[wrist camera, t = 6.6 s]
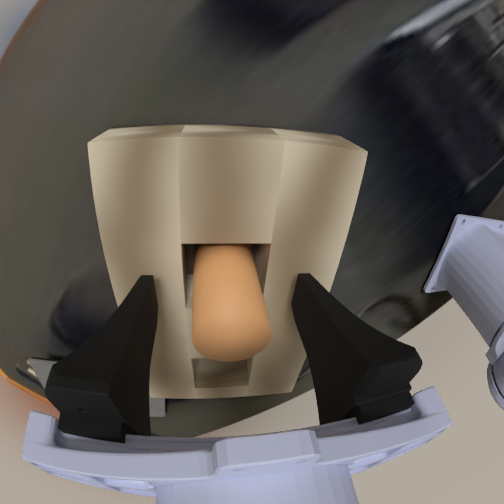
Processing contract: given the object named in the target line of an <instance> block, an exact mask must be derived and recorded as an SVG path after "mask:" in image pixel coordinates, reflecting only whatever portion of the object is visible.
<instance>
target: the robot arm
mask: <svg viewBox="0 0 504 504" xmlns="http://www.w3.org/2000/svg"><path fill="white" fill-rule="evenodd" d="M423 290H424V291H425V293H430V292H438V291H445V290H447V291H448V292H449V293H450V294H451V296H452V297H453V298H454V299H455V301H456V302H457V303H458V304H459V306H460V307H461V308H462V310H463V311H464V312H465V314H466V315H467V316H468V317H469V319H470V320H471V322H472V323H473V324H474V326H475V327H476V329H477V330H478V331H479V333H480V334H481V336H482V337H483V339H484V340H485V341H486V343H487V344H488V346H489V347H490V349H489V351H488V352H487V353H486V357H487V358H488V360H489V361H490V363H489V365H488V368H487V379H488V385H489V389H490V392H491V394H492V396H493V398H494V400H495V401H496V403H497V404H498V405H499V406H500V407H501V408H502V409H503V410H504V221H501V220H494V219H488V218H482V217H475V216H468V215H461V214H458V215H457V216H456V217H455V218H454V221H453V223H452V226H451V228H450V231H449V233H448V236H447V238H446V240H445V243H444V245H443V247H442V250H441V252H440V254H439V256H438V259H437V261H436V263H435V265H434V267H433V269H432V271H431V274H430V276H429V278H428V280H427V282H426V284H425V286H424V288H423ZM291 306H292V311H293V316H294V320H295V323H296V326H297V329H298V332H299V335H300V338H301V340H302V343H303V346H304V349H305V352H306V354H307V357H308V361H309V364H310V369H311V373H312V378H313V383H314V388H315V393H316V399H317V406H318V413H319V421H320V425H318V426H313V427H307V428H302V429H294V430H288V431H281V432H273V433H265V434H256V435H244V436H232V437H210V438H174V437H152V436H151V429H150V406H149V385H150V365H151V358H152V352H153V346H154V340H155V334H156V329H157V320H158V301H157V295H156V289H155V283H154V276H153V275H141V276H140V277H139V278H138V280H137V281H136V283H135V284H134V286H133V287H132V289H131V290H130V292H129V293H128V294H127V296H126V297H125V299H124V300H123V301H122V303H121V304H120V305H119V307H118V308H117V309H116V310H115V312H114V313H113V314H112V315H111V317H110V318H109V319H108V320H107V321H106V322H105V324H104V325H103V326H102V327H101V328H100V329H99V330H98V331H97V332H96V333H95V334H94V335H93V336H92V337H90V338H89V339H88V340H87V341H86V342H85V343H84V344H82V345H81V346H80V347H79V348H77V349H76V350H75V351H73V352H72V353H71V354H69V355H68V356H66V357H65V358H63V359H61V360H60V361H58V362H57V363H55V364H53V365H52V367H51V370H50V372H49V375H48V379H47V383H46V386H45V390H44V392H45V395H46V397H47V398H48V400H49V401H50V402H51V403H52V404H53V405H54V406H55V407H56V408H57V409H58V410H59V412H60V417H59V420H58V419H57V418H55V417H54V416H51V415H48V414H44V413H40V412H37V411H30V415H29V419H28V424H27V428H26V433H25V438H24V444H23V450H22V456H21V457H22V458H23V459H24V460H26V461H28V462H29V463H31V464H33V465H34V466H36V467H38V468H40V469H42V470H44V471H45V472H47V473H49V474H52V475H55V476H59V477H62V478H65V479H69V480H72V481H76V482H80V483H83V484H87V485H91V486H95V487H100V488H104V489H109V490H114V491H119V492H124V493H130V494H136V495H143V496H151V497H156V504H359V503H358V499H357V496H356V492H355V489H354V486H353V482H352V479H351V475H352V474H355V473H358V472H361V471H364V470H367V469H369V468H372V467H374V466H377V465H379V464H382V463H384V462H386V461H389V460H391V459H394V458H396V457H398V456H400V455H403V454H405V453H407V452H409V451H411V450H414V449H416V448H418V447H420V446H422V445H424V444H426V443H428V442H429V441H430V440H432V439H433V438H435V437H436V436H437V435H439V434H440V433H441V432H443V431H444V430H446V429H447V428H448V427H449V426H451V425H452V421H451V419H450V417H449V414H448V413H447V410H446V409H445V406H444V404H443V402H442V400H441V398H440V396H439V394H438V392H437V390H436V388H435V387H434V386H432V387H430V388H427V389H424V390H422V391H419V392H417V393H416V394H414V395H413V396H411V394H410V392H409V391H410V390H411V385H410V383H409V382H410V381H411V380H412V379H413V378H414V376H415V375H416V374H417V373H418V372H419V370H420V369H421V366H422V360H421V358H420V356H419V354H418V353H417V351H416V349H415V348H414V347H412V346H409V345H407V344H404V343H402V342H399V341H397V340H395V339H393V338H391V337H389V336H387V335H385V334H383V333H381V332H380V331H378V330H376V329H375V328H373V327H371V326H370V325H368V324H367V323H365V322H364V321H362V320H361V319H360V318H358V317H357V316H355V315H354V314H353V313H352V312H350V311H349V310H348V309H347V308H346V307H345V306H343V305H342V304H341V303H340V302H339V301H338V300H337V299H336V298H335V297H333V296H332V295H331V294H330V293H329V292H328V291H327V290H326V289H325V288H324V287H323V286H322V285H321V284H320V283H319V282H318V281H317V280H316V279H315V278H314V277H313V276H312V275H311V274H310V273H298V276H297V280H296V285H295V289H294V293H293V297H292V301H291Z"/></svg>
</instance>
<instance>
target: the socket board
mask: <svg viewBox="0 0 504 504" xmlns="http://www.w3.org/2000/svg"><path fill="white" fill-rule="evenodd" d="M88 153H89V164H90V173H91V181H92V189H93V196H94V202H95V209H96V214H97V220H98V226H99V231H100V236H101V241H102V246H103V250H104V255H105V259H106V263H107V268H108V272H109V276H110V280H111V284H112V287H113V291H114V295H115V298H116V302H117V305H118V307H119V305H120V304H121V303H122V301H123V300H124V299H125V297H126V296H127V294H128V293H129V292H130V290H131V289H132V287H133V286H134V284H135V283H136V281H137V280H138V278H139V277H140V276H141V275H153V276H154V283H155V289H156V295H157V301H158V320H157V329H156V334H155V340H154V346H153V352H152V358H151V365H150V385H149V395H150V397H151V398H187V399H191V398H229V397H246V396H259V395H269V394H279V393H287V392H292V390H293V387H294V385H295V383H296V380H297V378H298V375H299V373H300V371H301V368H302V366H303V363H304V361H305V358H306V356H307V354H306V352H305V349H304V346H303V343H302V340H301V338H300V335H299V332H298V329H297V326H296V323H295V320H294V316H293V311H292V306H291V301H292V297H293V293H294V289H295V285H296V280H297V276H298V273H310V274H311V275H312V276H313V277H314V278H315V279H316V280H317V281H318V282H319V283H320V284H321V285H322V286H323V287H324V288H325V289H326V290H327V291H328V292H330V289H331V286H332V283H333V280H334V277H335V274H336V271H337V268H338V264H339V261H340V258H341V255H342V251H343V248H344V244H345V241H346V238H347V234H348V231H349V227H350V223H351V220H352V216H353V212H354V208H355V205H356V201H357V197H358V193H359V189H360V185H361V180H362V176H363V172H364V168H365V163H366V159H367V154H368V152H367V151H366V150H364V149H362V148H360V147H359V146H357V145H355V144H353V143H351V142H350V141H348V140H346V139H344V138H342V137H340V136H339V135H335V134H328V133H321V132H314V131H306V130H298V129H289V128H278V127H267V126H253V125H235V124H154V125H136V126H123V127H112V128H111V129H109V130H107V131H106V132H104V133H102V134H101V135H99V136H98V137H96V138H94V139H93V140H91V141H90V142H88ZM209 243H250V246H251V250H252V254H253V258H254V262H255V266H256V270H257V274H258V279H259V283H260V287H261V291H262V295H263V299H264V303H265V307H266V311H267V315H268V319H269V323H270V327H271V332H272V336H271V340H270V342H269V344H268V345H267V347H266V348H265V349H264V350H263V351H261V352H260V353H258V354H257V355H255V356H253V357H250V358H248V359H244V360H240V361H233V362H224V361H217V360H213V359H210V358H207V357H205V356H203V355H202V354H200V353H199V352H198V351H197V350H196V349H195V347H194V346H193V343H192V297H193V268H194V247H195V244H209Z"/></svg>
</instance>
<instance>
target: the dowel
mask: <svg viewBox="0 0 504 504" xmlns="http://www.w3.org/2000/svg"><path fill="white" fill-rule="evenodd" d="M271 336H272V332H271V327H270V323H269V319H268V315H267V311H266V307H265V303H264V299H263V295H262V291H261V287H260V283H259V279H258V274H257V270H256V266H255V262H254V258H253V254H252V250H251V246H250V243H209V244H195V247H194V268H193V297H192V343H193V346H194V347H195V349H196V350H197V351H198V352H199V353H200V354H202V355H203V356H205V357H207V358H210V359H213V360H217V361H224V362H233V361H240V360H244V359H248V358H250V357H253V356H255V355H257V354H258V353H260V352H261V351H263V350H264V349H265V348H266V347H267V345H268V344H269V342H270V340H271Z"/></svg>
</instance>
